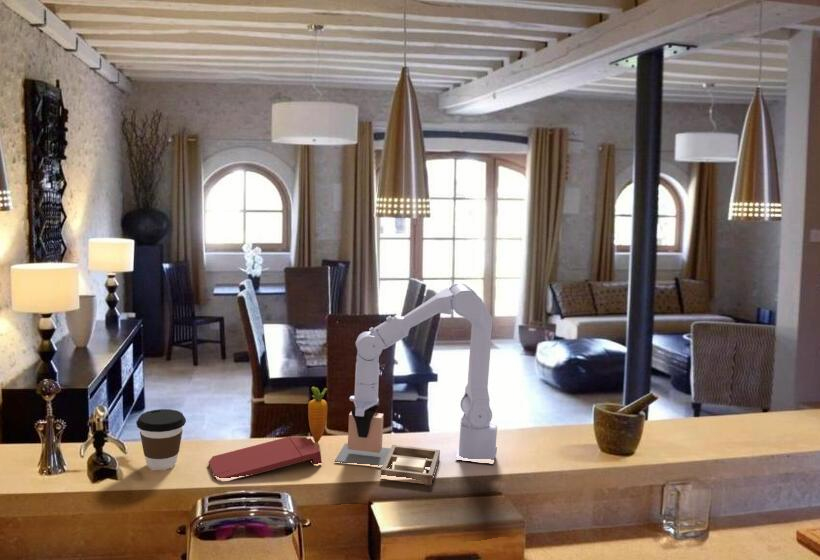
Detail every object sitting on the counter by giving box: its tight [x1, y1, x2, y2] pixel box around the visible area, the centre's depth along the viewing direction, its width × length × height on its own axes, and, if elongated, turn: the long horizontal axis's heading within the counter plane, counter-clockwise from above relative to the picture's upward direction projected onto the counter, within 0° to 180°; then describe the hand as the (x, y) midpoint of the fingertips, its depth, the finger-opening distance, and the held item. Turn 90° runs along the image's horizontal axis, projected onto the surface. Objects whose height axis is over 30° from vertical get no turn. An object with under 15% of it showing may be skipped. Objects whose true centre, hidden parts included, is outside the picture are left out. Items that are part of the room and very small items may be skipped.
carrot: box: [307, 386, 328, 443], centre depth 199 cm, size 5×5×15 cm
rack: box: [380, 444, 441, 487], centre depth 188 cm, size 12×15×2 cm
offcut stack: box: [391, 457, 427, 473], centre depth 184 cm, size 8×5×4 cm, turn 86°
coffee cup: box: [135, 408, 187, 471], centre depth 182 cm, size 11×11×12 cm
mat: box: [334, 442, 391, 466], centre depth 193 cm, size 12×11×1 cm
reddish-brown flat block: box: [208, 436, 323, 478], centre depth 186 cm, size 12×5×25 cm
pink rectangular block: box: [347, 411, 385, 453], centre depth 192 cm, size 8×3×9 cm, turn 81°
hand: (364, 434), depth 192 cm, fingers closed on pink rectangular block, 3 cm apart
